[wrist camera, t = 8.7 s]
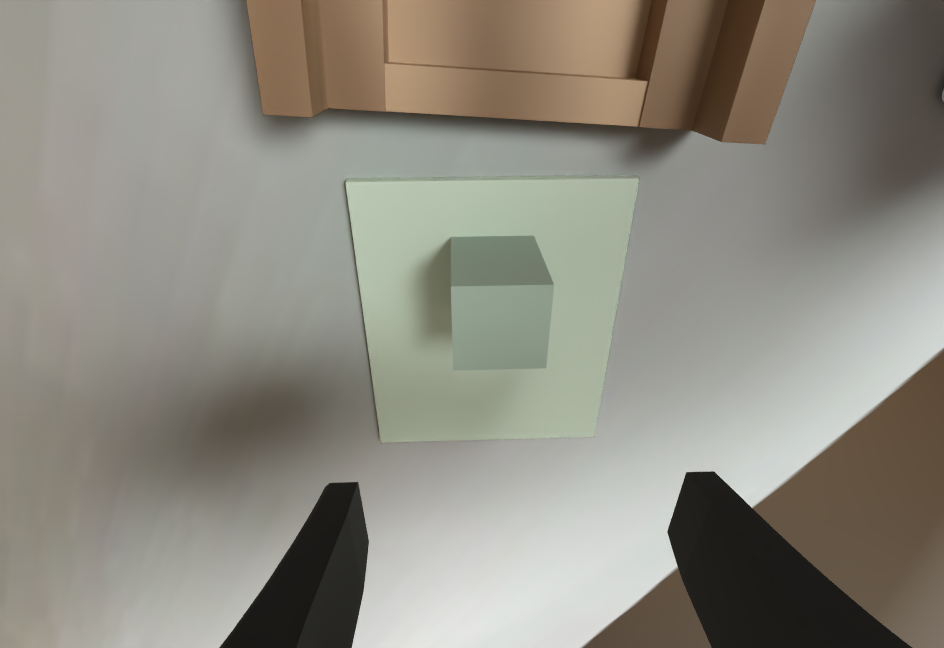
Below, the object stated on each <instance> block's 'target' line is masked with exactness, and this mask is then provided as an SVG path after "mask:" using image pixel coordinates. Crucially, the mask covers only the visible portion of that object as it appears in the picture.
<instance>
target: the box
mask: <svg viewBox="0 0 944 648" xmlns="http://www.w3.org/2000/svg"><path fill="white" fill-rule="evenodd" d="M246 2H247V9H248V15H249V22H250V29H251V36H252V43H253V49H254V56H255V63H256V70H257V77H258V83H259V90H260V97H261V104H262V111H263V114H264V115H281V116H297V117H314V116H315V115H317V114H319V113H321V112H322V111H324V110H326V109H327V108H334V109H350V110H366V111H383V112H385V111H391V112H407V113H424V114H440V115H456V116H473V117H489V118H506V119H522V120H538V121H555V122H571V123H587V124H604V125H620V126H637V127H645V128H661V129H678V130H693V131H695V132H698V133H700V134H703V135H705V136H708V137H710V138H713V139H716V140H718V141H721V142H733V143H750V144H765V143H766V140H767V138H768V135H769V132H770V129H771V126H772V123H773V121H774V118H775V115H776V112H777V109H778V106H779V104H780V101H781V98H782V95H783V92H784V89H785V87H786V84H787V81H788V78H789V75H790V72H791V70H792V67H793V64H794V61H795V58H796V56H797V53H798V50H799V47H800V44H801V41H802V39H803V36H804V33H805V30H806V27H807V24H808V22H809V19H810V16H811V13H812V10H813V7H814V5H815V2H816V0H246Z"/></svg>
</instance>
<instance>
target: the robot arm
mask: <svg viewBox="0 0 944 648" xmlns="http://www.w3.org/2000/svg"><path fill="white" fill-rule="evenodd" d="M942 100H943V102H944V90H943V93H942ZM668 536H669V539H670V542H671V546H672V549H673V552H674V556H675V559H676V562H677V565H678V568H679V571H680V574H681V577H682V580H683V582H684V585H685V587H686V590H687V592H688V594H689V596H690V599H691V601H692V603H693V606H694V608H695V610H696V613H697V615H698V617H699V620H700V622H701V624H702V626H703V629H704V631H705V633H706V635H707V638H708V640H709V642H710V644H711V647H712V648H912V647H911V646H909V645H908V644H907V643H905V642H904V641H902V640H901V639H900V638H899V637H898V636H896V635H895V634H894V633H892V632H891V631H890V630H888V629H887V628H886V627H885V626H884V625H882V624H881V623H880V622H879V621H877V620H876V619H875V618H874V617H873V616H871V615H870V614H869V613H868V612H867V611H865V610H864V609H863V608H862V607H861V606H859V605H858V604H857V603H856V602H854V600H852V599H851V598H850V597H849V596H848V595H846V594H845V593H844V592H843V591H842V590H841V589H839V588H838V587H837V586H836V585H835V584H834V583H832V582H831V581H830V580H829V579H828V578H827V577H826V576H824V575H823V574H822V573H821V572H820V571H819V570H817V568H815V567H814V566H813V565H812V564H811V563H810V562H808V560H807V559H805V558H804V557H803V556H802V555H801V554H800V553H799V552H798V551H797V550H796V549H795V548H793V547H792V546H791V545H790V544H789V543H788V542H787V541H786V540H785V539H784V538H783V537H782V536H781V535H780V534H778V533H777V532H776V531H775V530H774V529H773V528H772V527H771V526H770V525H769V524H768V523H767V522H766V521H765V520H764V519H763V518H762V517H761V516H760V515H758V514H757V513H756V512H755V511H754V510H753V509H752V508H751V507H750V506H749V505H748V504H747V503H746V502H745V501H744V500H743V499H742V498H741V497H740V496H739V495H738V494H737V493H736V492H735V491H734V490H733V489H732V488H731V487H730V486H729V485H727V484H726V483H725V482H724V481H723V480H722V479H721V478H720V477H719V476H718V475H717V474H716V473H715V472H686V475H685V478H684V482H683V485H682V488H681V491H680V494H679V497H678V500H677V503H676V507H675V510H674V513H673V516H672V519H671V522H670V525H669V528H668ZM368 544H369V540H368V535H367V529H366V524H365V518H364V512H363V507H362V501H361V496H360V490H359V485H358V482H348V483H329V484H328V485H327V486H326V487H325V488H324V490H323V492H322V494H321V496H320V498H319V500H318V501H317V503H316V505H315V507H314V508H313V510H312V512H311V514H310V515H309V517H308V519H307V520H306V522H305V524H304V526H303V527H302V529H301V530H300V532H299V534H298V535H297V537H296V539H295V540H294V542H293V543H292V545H291V547H290V548H289V550H288V551H287V553H286V554H285V556H284V557H283V559H282V560H281V562H280V563H279V565H278V567H277V568H276V570H275V571H274V573H273V574H272V576H271V577H270V579H269V580H268V582H267V583H266V585H265V586H264V588H263V589H262V590H261V592H260V593H259V595H258V596H257V597H256V599H255V600H254V602H253V603H252V604H251V606H250V607H249V608H248V610H247V611H246V613H245V614H244V615H243V617H242V618H241V620H240V621H239V622H238V624H237V625H236V627H235V628H234V629H233V631H232V632H231V633H230V635H229V636H228V637H227V639H226V640H225V641H224V642H223V644H222V645H221V646H220V648H352V643H353V638H354V634H355V629H356V624H357V619H358V615H359V610H360V605H361V600H362V595H363V590H364V581H365V573H366V564H367V554H368Z"/></svg>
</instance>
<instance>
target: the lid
mask: <svg viewBox="0 0 944 648" xmlns="http://www.w3.org/2000/svg"><path fill="white" fill-rule="evenodd" d="M345 183H346V191H347V198H348V205H349V213H350V220H351V227H352V235H353V242H354V249H355V257H356V264H357V271H358V279H359V286H360V294H361V301H362V308H363V316H364V323H365V330H366V338H367V345H368V352H369V360H370V367H371V374H372V382H373V389H374V397H375V404H376V411H377V419H378V426H379V433H380V441H381V443H393V442H428V441H464V440H500V439H536V438H571V437H595V431H596V426H597V420H598V414H599V408H600V403H601V397H602V391H603V385H604V380H605V374H606V368H607V362H608V357H609V351H610V345H611V339H612V334H613V328H614V322H615V316H616V311H617V305H618V299H619V293H620V287H621V282H622V276H623V270H624V264H625V259H626V253H627V247H628V241H629V236H630V230H631V224H632V218H633V213H634V207H635V201H636V195H637V190H638V184H639V178H638V177H637V176H636V175H595V176H509V177H423V178H348V179H347V180H346V182H345Z"/></svg>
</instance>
